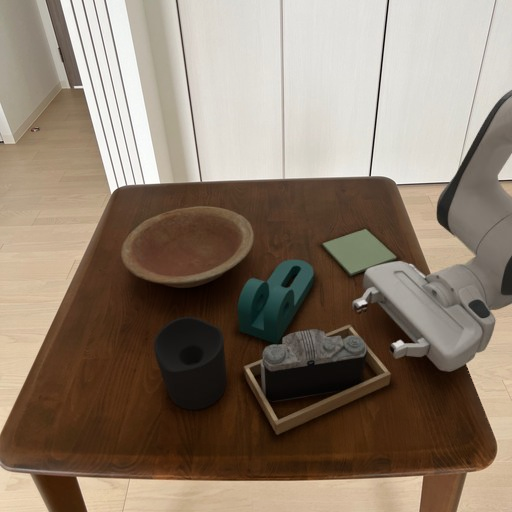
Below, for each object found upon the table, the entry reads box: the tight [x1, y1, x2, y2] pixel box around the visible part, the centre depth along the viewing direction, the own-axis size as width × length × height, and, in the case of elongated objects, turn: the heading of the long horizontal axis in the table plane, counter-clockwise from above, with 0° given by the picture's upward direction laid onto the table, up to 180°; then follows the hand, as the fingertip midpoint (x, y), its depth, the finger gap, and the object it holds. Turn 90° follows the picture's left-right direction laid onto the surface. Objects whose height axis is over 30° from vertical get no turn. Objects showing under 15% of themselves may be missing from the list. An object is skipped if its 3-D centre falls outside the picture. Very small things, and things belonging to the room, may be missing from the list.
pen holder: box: [153, 316, 227, 411], centre depth 72 cm, size 9×9×10 cm
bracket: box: [237, 259, 314, 345], centre depth 85 cm, size 18×7×8 cm, turn 153°
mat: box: [322, 228, 397, 277], centre depth 97 cm, size 10×10×1 cm
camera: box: [260, 328, 367, 403], centre depth 72 cm, size 15×7×10 cm, turn 99°
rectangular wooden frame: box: [243, 324, 392, 436], centre depth 74 cm, size 11×18×2 cm, turn 115°
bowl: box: [120, 205, 255, 289], centre depth 93 cm, size 24×24×8 cm
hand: (372, 329), depth 73 cm, fingers open, 8 cm apart
